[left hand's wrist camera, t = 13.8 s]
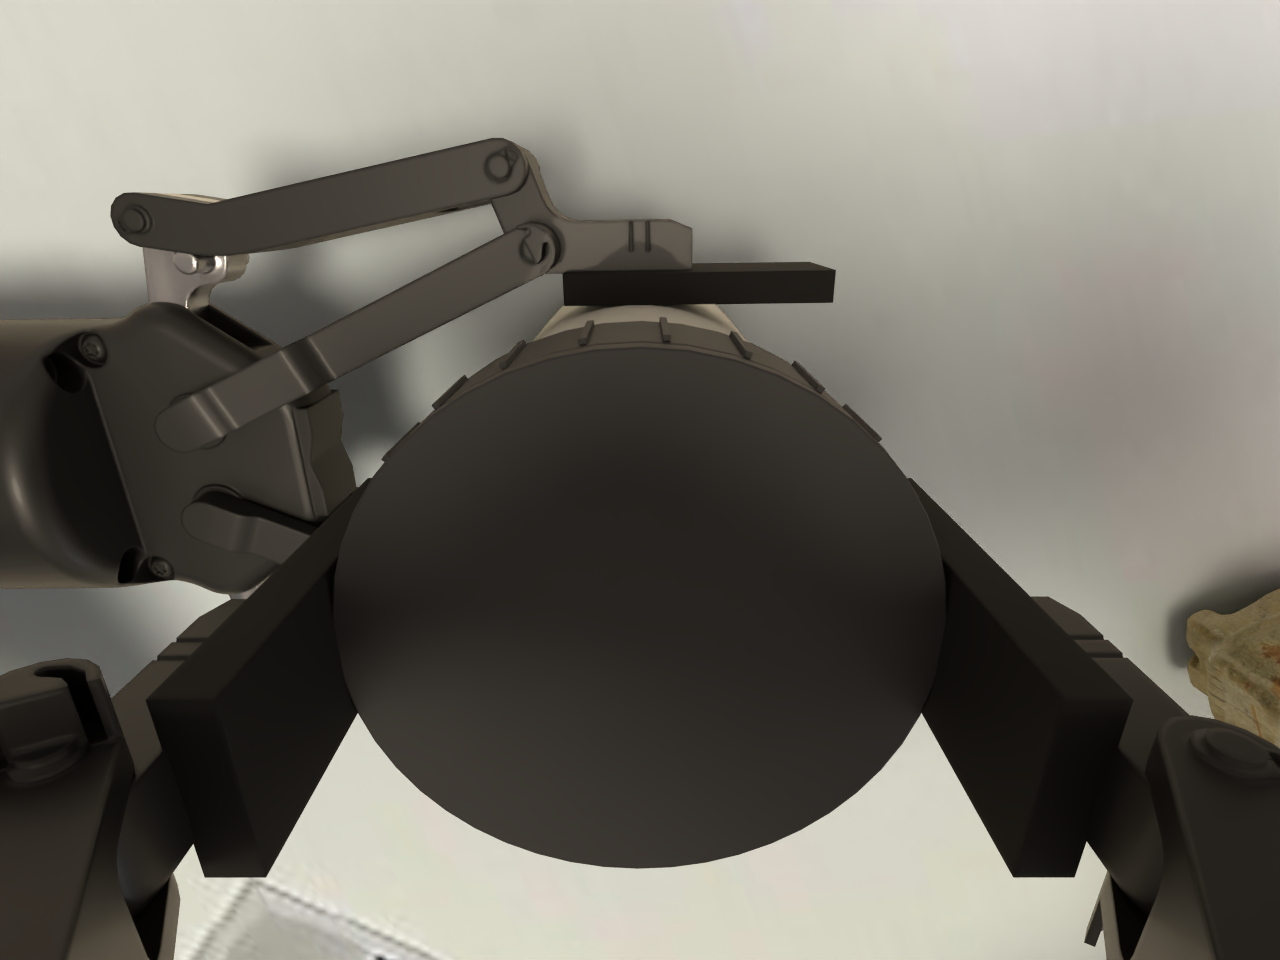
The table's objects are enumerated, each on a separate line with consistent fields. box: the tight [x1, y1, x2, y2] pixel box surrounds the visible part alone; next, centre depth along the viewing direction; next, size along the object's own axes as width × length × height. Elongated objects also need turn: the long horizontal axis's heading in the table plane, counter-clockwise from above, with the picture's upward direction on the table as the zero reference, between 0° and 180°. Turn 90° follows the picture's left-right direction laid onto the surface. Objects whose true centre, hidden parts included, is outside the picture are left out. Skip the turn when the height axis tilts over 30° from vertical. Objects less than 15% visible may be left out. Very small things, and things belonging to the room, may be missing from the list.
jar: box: [533, 304, 747, 342], centre depth 18 cm, size 8×8×16 cm
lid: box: [332, 317, 947, 869], centre depth 11 cm, size 9×10×2 cm
